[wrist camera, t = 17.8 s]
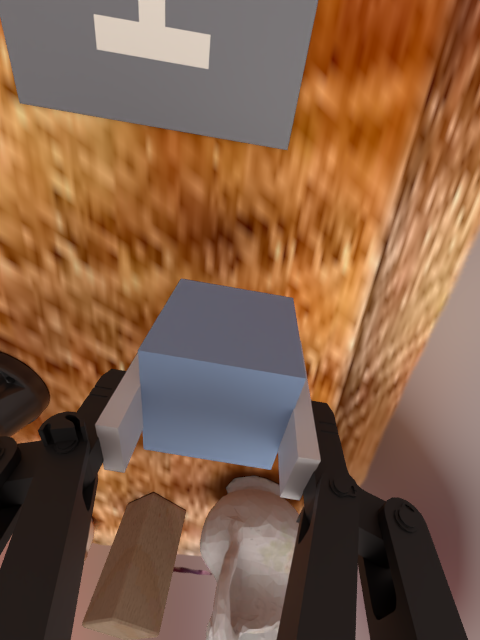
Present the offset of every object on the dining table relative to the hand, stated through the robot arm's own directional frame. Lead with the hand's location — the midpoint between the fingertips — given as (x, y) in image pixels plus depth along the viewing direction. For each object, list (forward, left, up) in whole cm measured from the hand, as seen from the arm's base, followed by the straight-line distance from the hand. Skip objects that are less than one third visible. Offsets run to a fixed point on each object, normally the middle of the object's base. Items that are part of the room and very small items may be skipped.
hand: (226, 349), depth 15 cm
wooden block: (-11, -65, -18) cm, 68 cm away
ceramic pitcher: (+9, -50, -18) cm, 54 cm away
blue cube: (0, 0, -1) cm, 1 cm away
